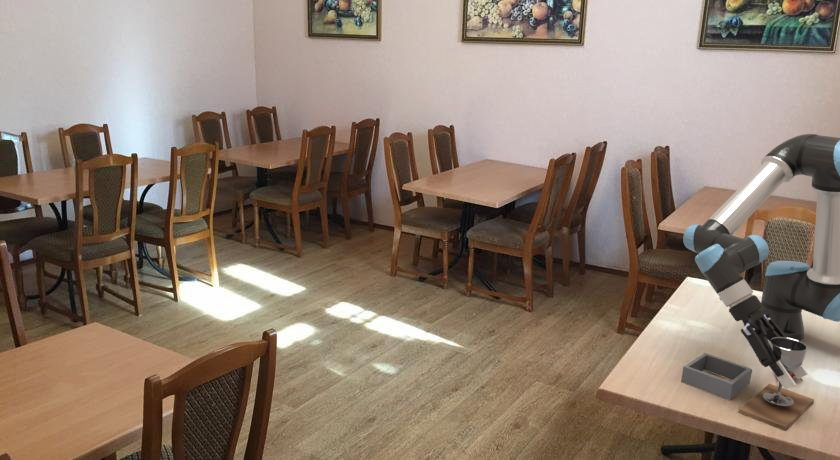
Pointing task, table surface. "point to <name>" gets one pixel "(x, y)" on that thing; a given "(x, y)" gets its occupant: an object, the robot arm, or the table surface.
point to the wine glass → (786, 365)
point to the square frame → (712, 383)
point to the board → (776, 408)
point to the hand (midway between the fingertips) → (796, 381)
